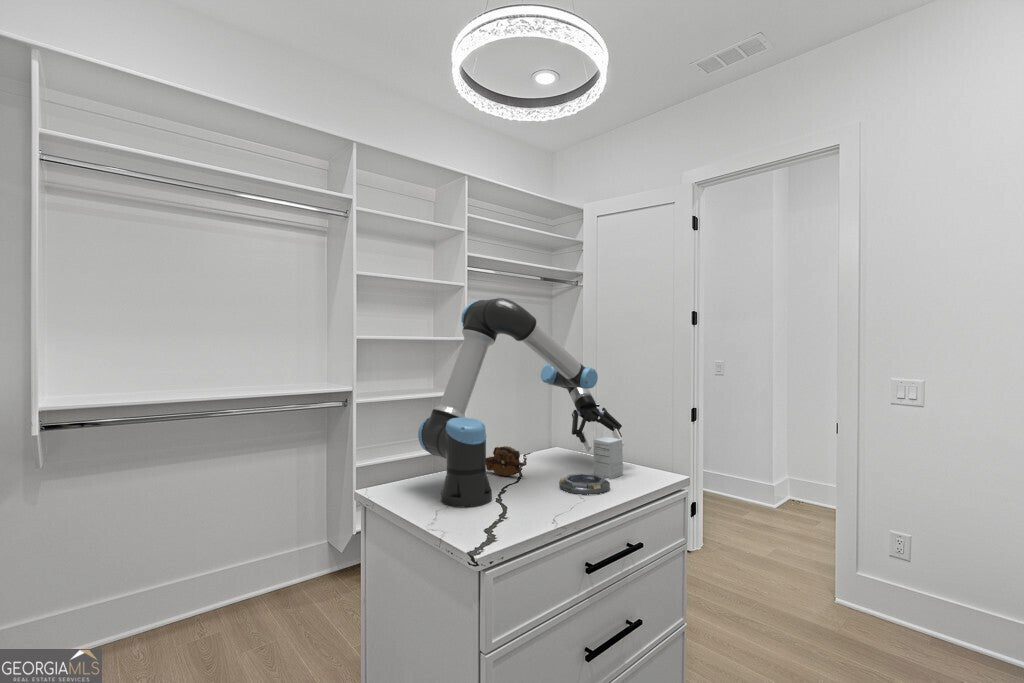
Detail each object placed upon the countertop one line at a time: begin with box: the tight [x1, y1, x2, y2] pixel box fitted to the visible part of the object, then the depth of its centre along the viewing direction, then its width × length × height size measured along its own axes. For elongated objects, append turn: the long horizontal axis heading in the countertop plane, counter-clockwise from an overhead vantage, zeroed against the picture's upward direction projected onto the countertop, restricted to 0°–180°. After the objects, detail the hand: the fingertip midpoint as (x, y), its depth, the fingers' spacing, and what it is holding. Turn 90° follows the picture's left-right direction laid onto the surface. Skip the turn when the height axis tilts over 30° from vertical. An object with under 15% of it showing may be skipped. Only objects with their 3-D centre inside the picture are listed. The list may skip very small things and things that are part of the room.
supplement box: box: [593, 436, 624, 480], centre depth 173 cm, size 7×7×13 cm
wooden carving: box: [486, 445, 526, 477], centre depth 175 cm, size 16×5×10 cm, turn 60°
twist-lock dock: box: [558, 473, 611, 496], centre depth 159 cm, size 16×16×3 cm
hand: (606, 447), depth 176 cm, fingers open, 13 cm apart
